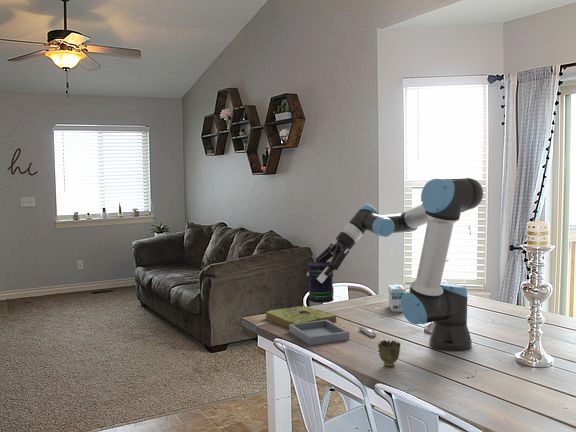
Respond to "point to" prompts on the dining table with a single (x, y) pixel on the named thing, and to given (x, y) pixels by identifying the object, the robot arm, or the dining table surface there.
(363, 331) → the rod
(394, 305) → the light bulb box
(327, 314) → the miniature landscape model
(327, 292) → the storage jar
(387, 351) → the cup
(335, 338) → the tray
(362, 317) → the dining table surface
